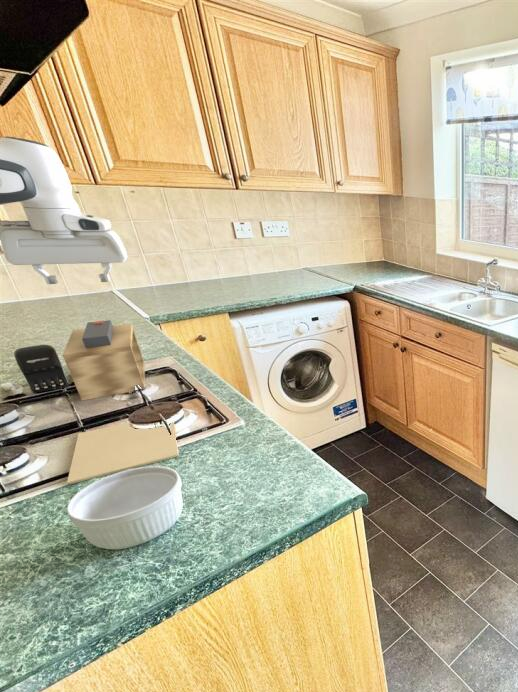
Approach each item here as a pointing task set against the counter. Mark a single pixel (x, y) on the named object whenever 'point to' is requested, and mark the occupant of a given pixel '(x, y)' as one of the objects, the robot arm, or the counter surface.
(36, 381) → the battery charger
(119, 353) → the wooden crate
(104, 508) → the ramekin
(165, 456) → the mat
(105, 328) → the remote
